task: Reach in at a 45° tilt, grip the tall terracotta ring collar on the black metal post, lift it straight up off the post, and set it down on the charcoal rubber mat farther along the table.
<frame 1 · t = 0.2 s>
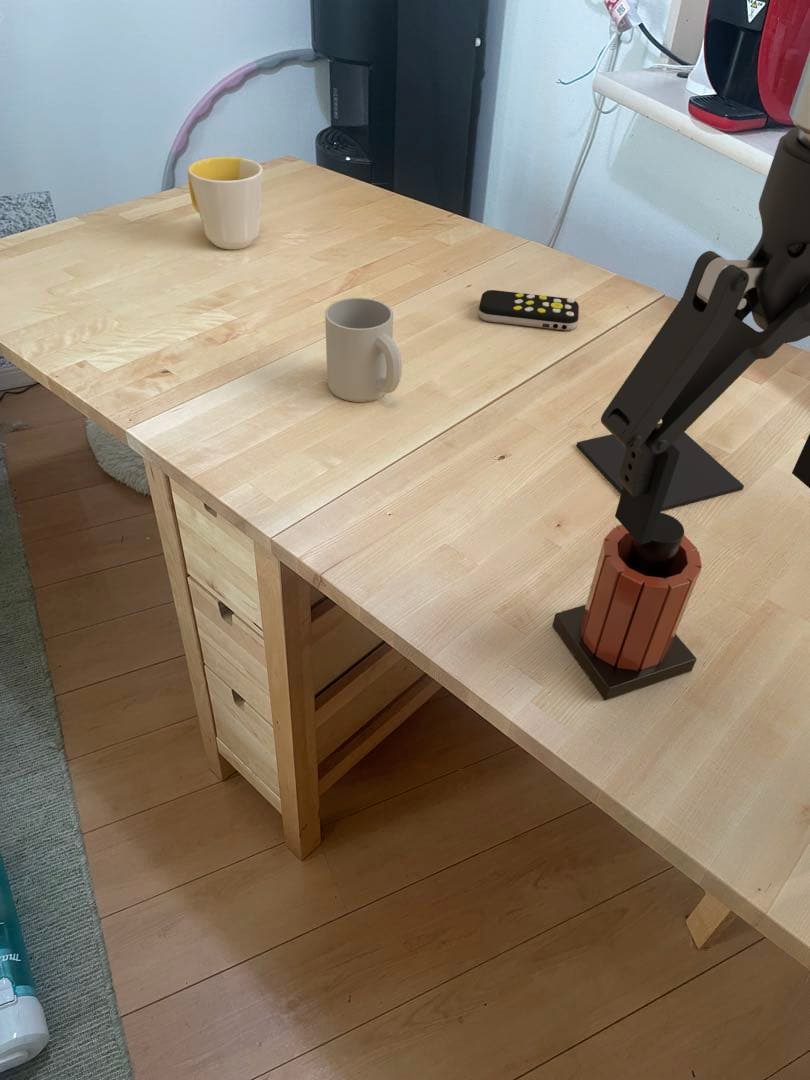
hand: (724, 506, 50), 18 cm above the table, tool pointing down, fingers open, 13 cm apart
mug: (228, 239, 121), on the table
post stand: (620, 647, 65), on the table
sleeve ring: (624, 635, 64), point 1 cm above the table, touching post stand
mat: (657, 467, 83), on the table
cup: (367, 392, 91), on the table
remote control: (527, 317, 106), on the table
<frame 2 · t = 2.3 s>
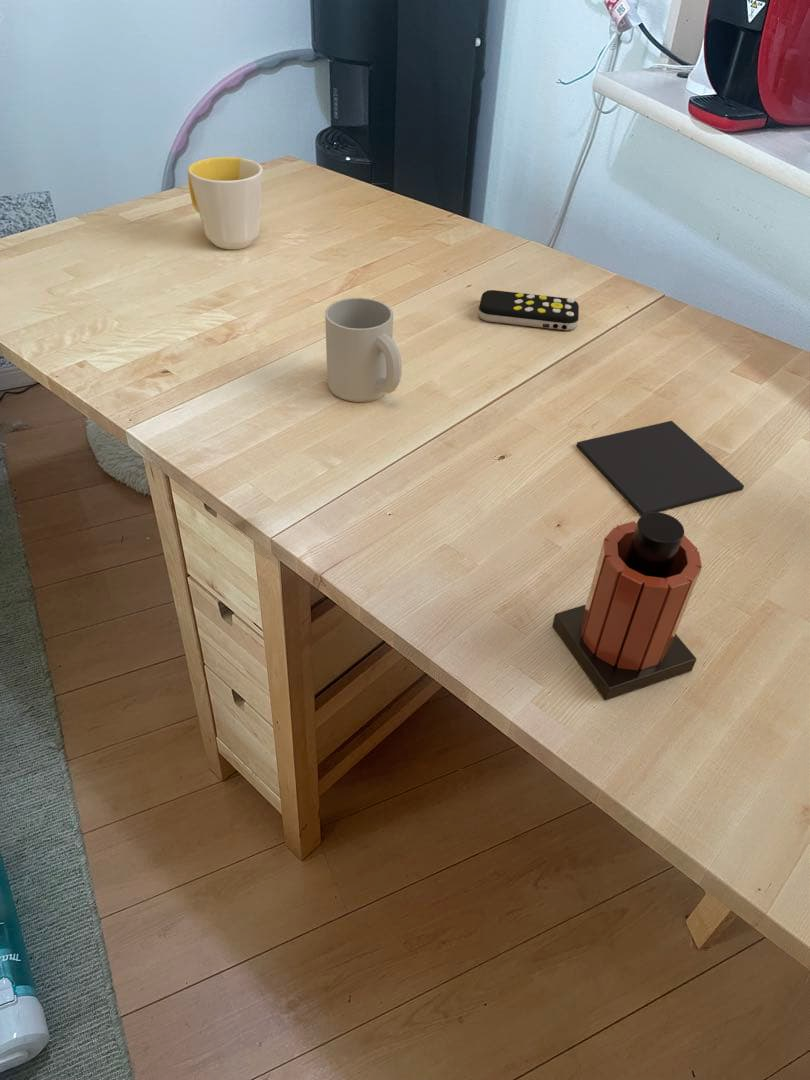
nothing on the table moved.
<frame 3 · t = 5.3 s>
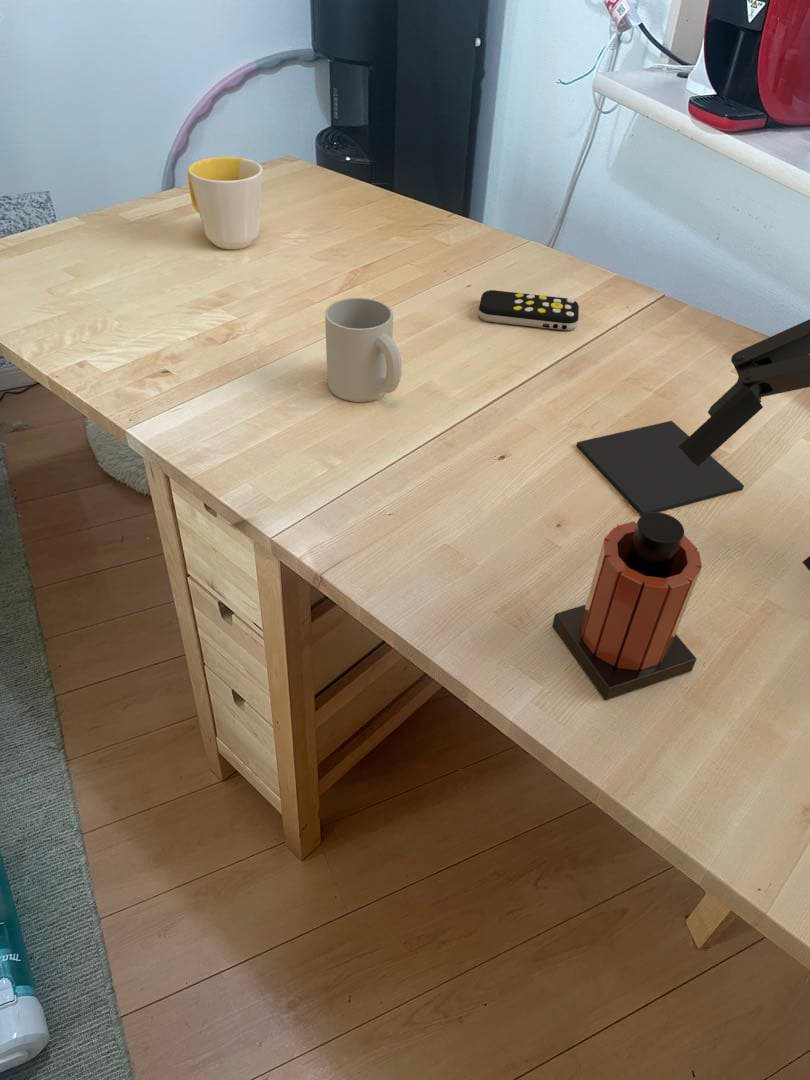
hand: (744, 510, 59), 12 cm above the table, tool tilted 45°, fingers open, 13 cm apart
nothing on the table moved.
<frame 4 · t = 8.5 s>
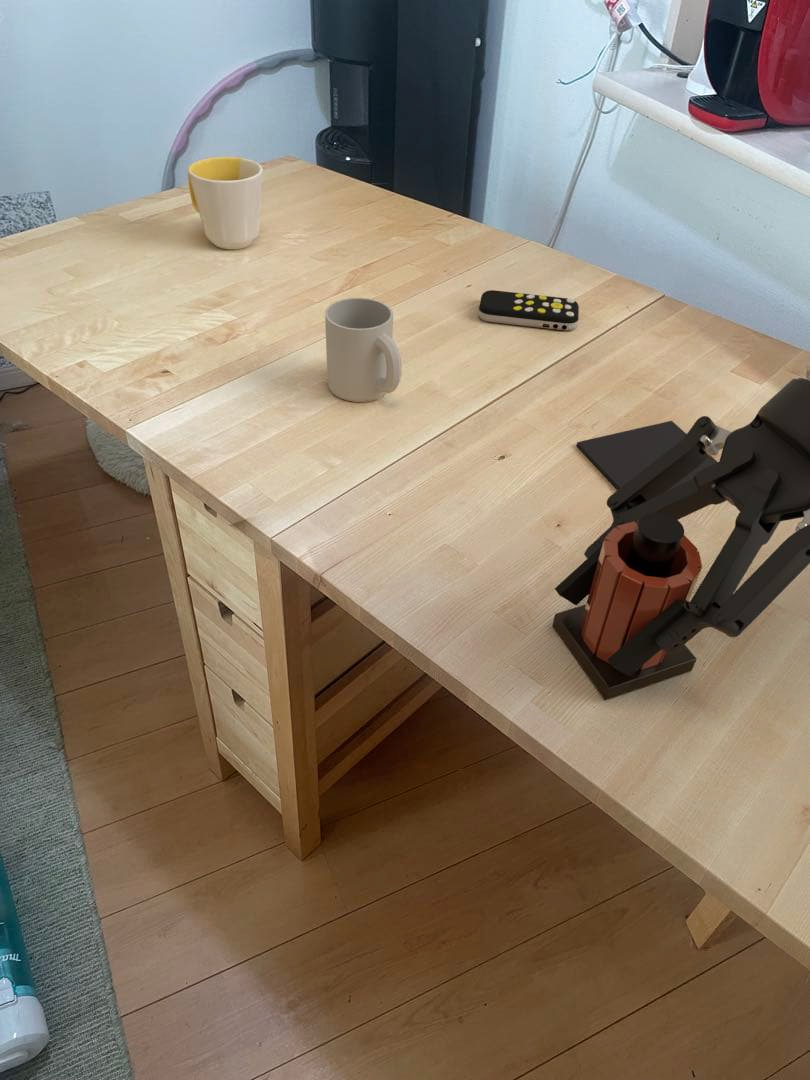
hand: (591, 630, 61), 3 cm above the table, tool tilted 45°, fingers closed on sleeve ring, 7 cm apart
sleeve ring: (624, 635, 64), point 2 cm above the table, touching gripper, post stand
everything else where it was.
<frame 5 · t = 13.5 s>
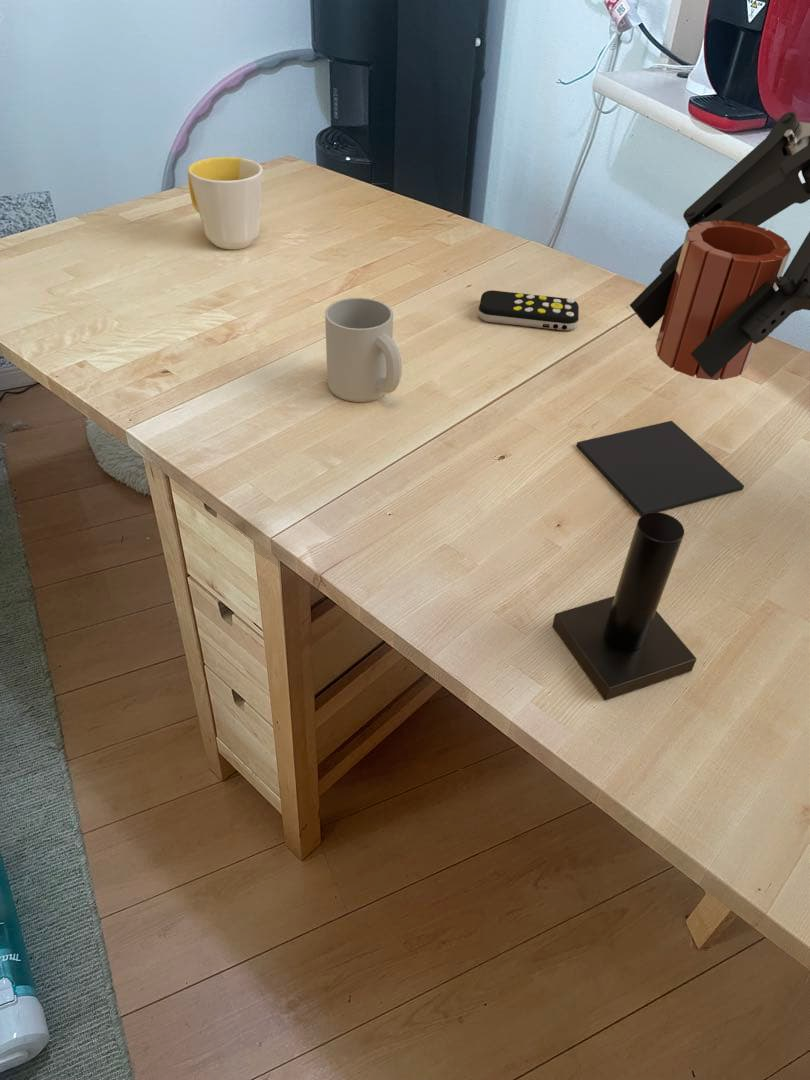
hand: (669, 340, 59), 21 cm above the table, tool tilted 45°, fingers closed on sleeve ring, 7 cm apart
sleeve ring: (701, 355, 62), point 19 cm above the table, touching gripper
everything else where it was.
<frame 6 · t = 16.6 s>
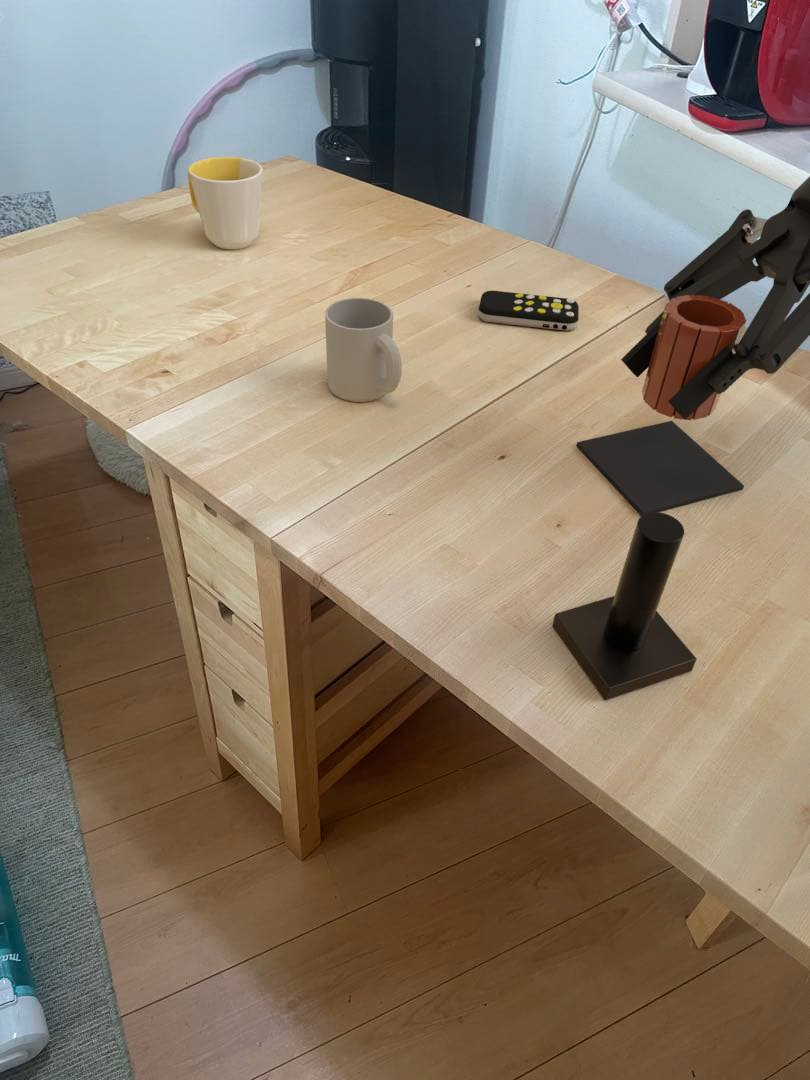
hand: (652, 388, 75), 10 cm above the table, tool tilted 45°, fingers closed on sleeve ring, 7 cm apart
sleeve ring: (678, 399, 77), point 8 cm above the table, touching gripper
everything else where it was.
when the fingers open (2 cm above the table, at t = 18.7 s): sleeve ring stays where it is, resting on mat.
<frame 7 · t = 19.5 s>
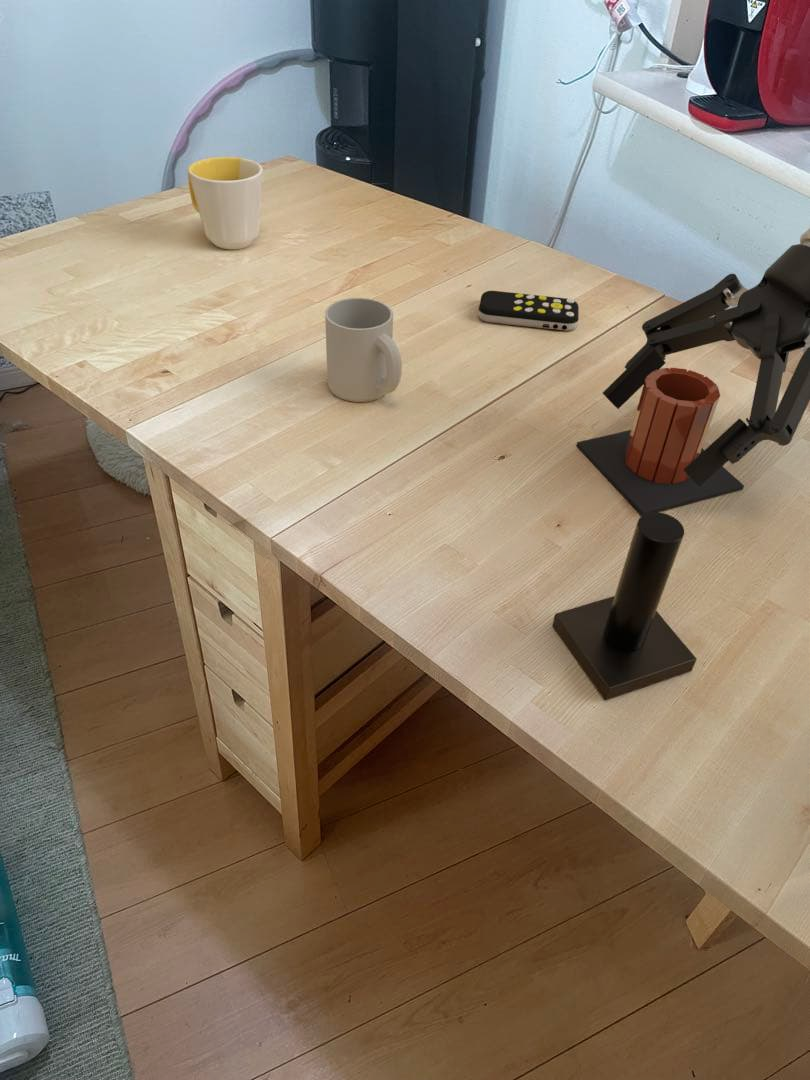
hand: (648, 437, 79), 4 cm above the table, tool tilted 45°, fingers open, 13 cm apart
sleeve ring: (658, 462, 82), resting on mat
everything else where it was.
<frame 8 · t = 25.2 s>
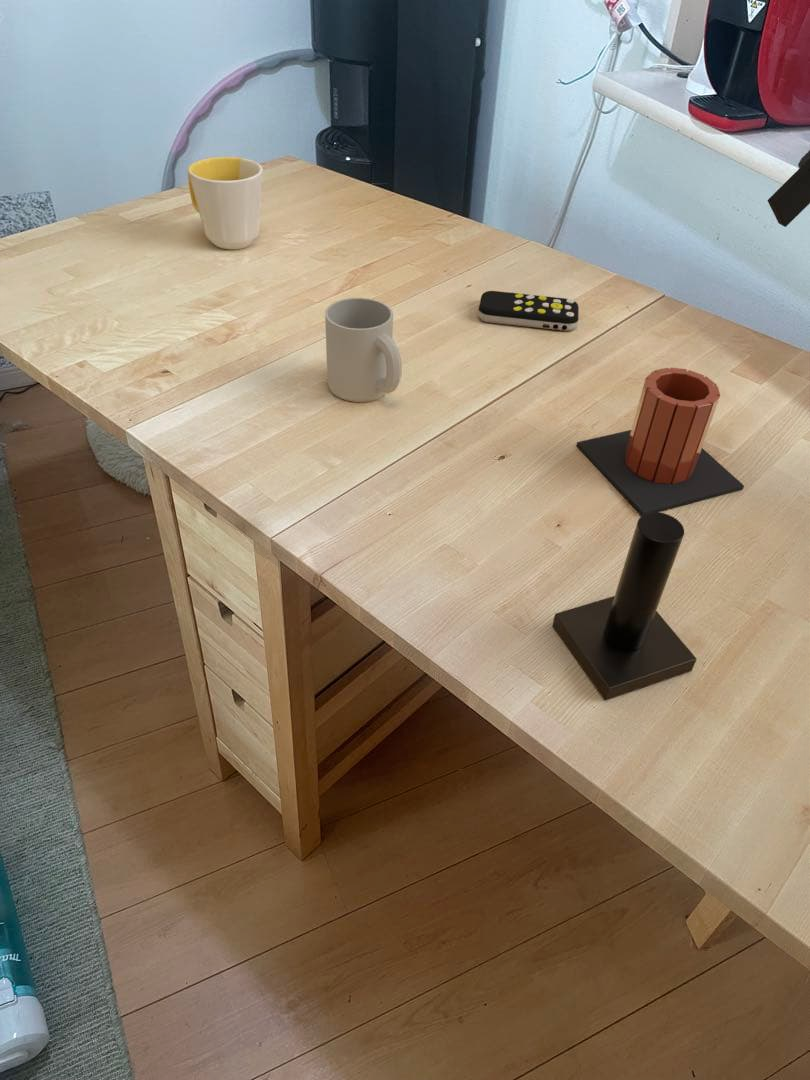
nothing on the table moved.
at the end: sleeve ring inside the target area on the mat (0.1 cm from its centre), point 0.5 cm above the mat's base; sleeve ring tilted 0°; the gripper is holding nothing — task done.
